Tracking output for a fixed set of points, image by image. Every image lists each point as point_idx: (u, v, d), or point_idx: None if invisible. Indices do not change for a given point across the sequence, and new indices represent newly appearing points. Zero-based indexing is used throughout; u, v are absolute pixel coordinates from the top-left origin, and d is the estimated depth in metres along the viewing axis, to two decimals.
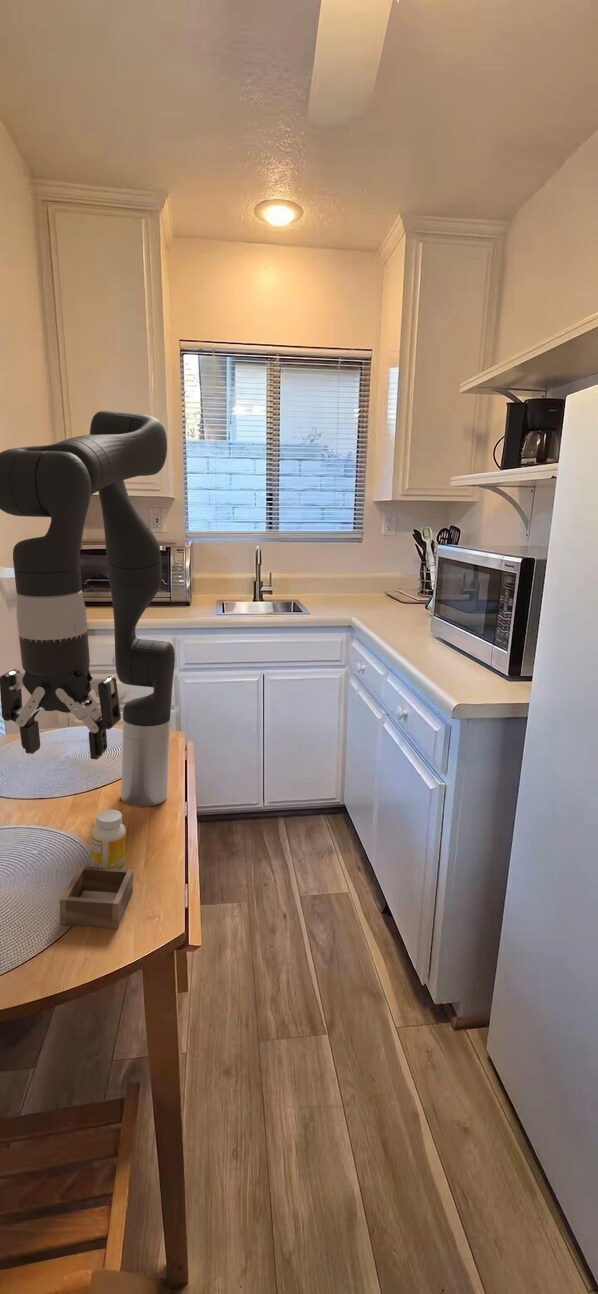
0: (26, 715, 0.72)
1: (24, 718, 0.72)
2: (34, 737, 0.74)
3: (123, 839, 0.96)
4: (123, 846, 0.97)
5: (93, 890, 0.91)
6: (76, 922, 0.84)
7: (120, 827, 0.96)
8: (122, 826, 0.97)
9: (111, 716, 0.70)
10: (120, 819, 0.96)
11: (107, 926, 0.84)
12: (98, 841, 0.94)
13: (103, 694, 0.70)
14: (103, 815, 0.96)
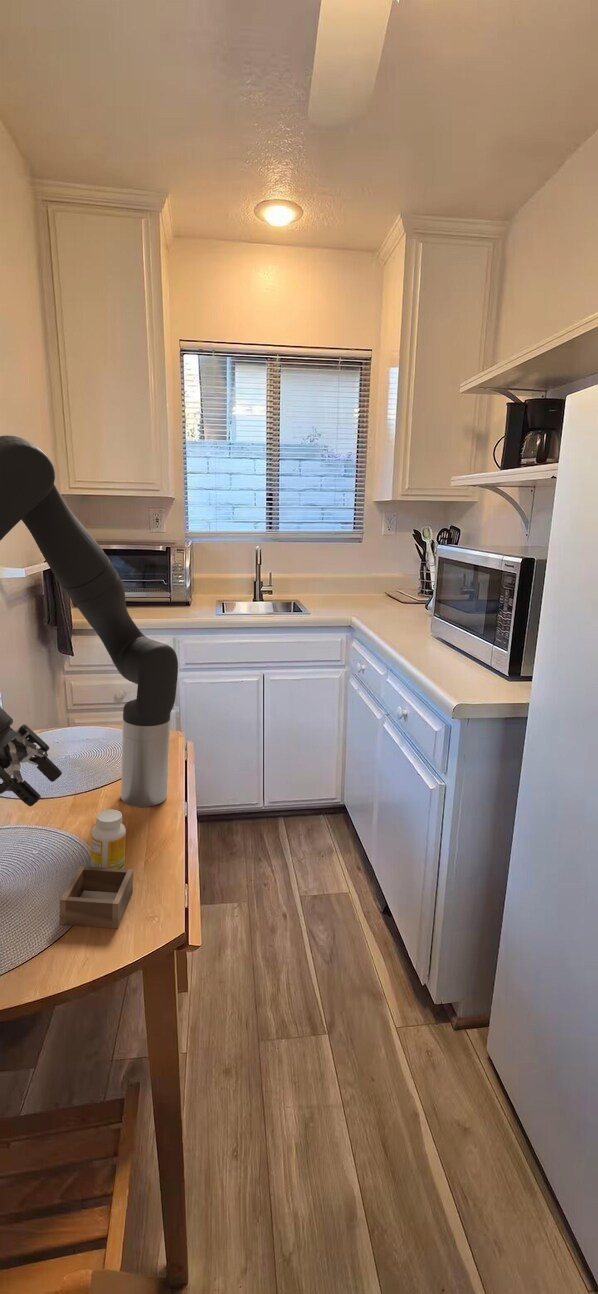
0: None
1: None
2: (48, 770, 0.98)
3: (123, 839, 0.96)
4: (123, 846, 0.97)
5: (93, 890, 0.91)
6: (76, 922, 0.84)
7: (120, 827, 0.96)
8: (122, 826, 0.97)
9: None
10: (120, 819, 0.96)
11: (107, 926, 0.84)
12: (98, 841, 0.94)
13: None
14: (103, 815, 0.96)
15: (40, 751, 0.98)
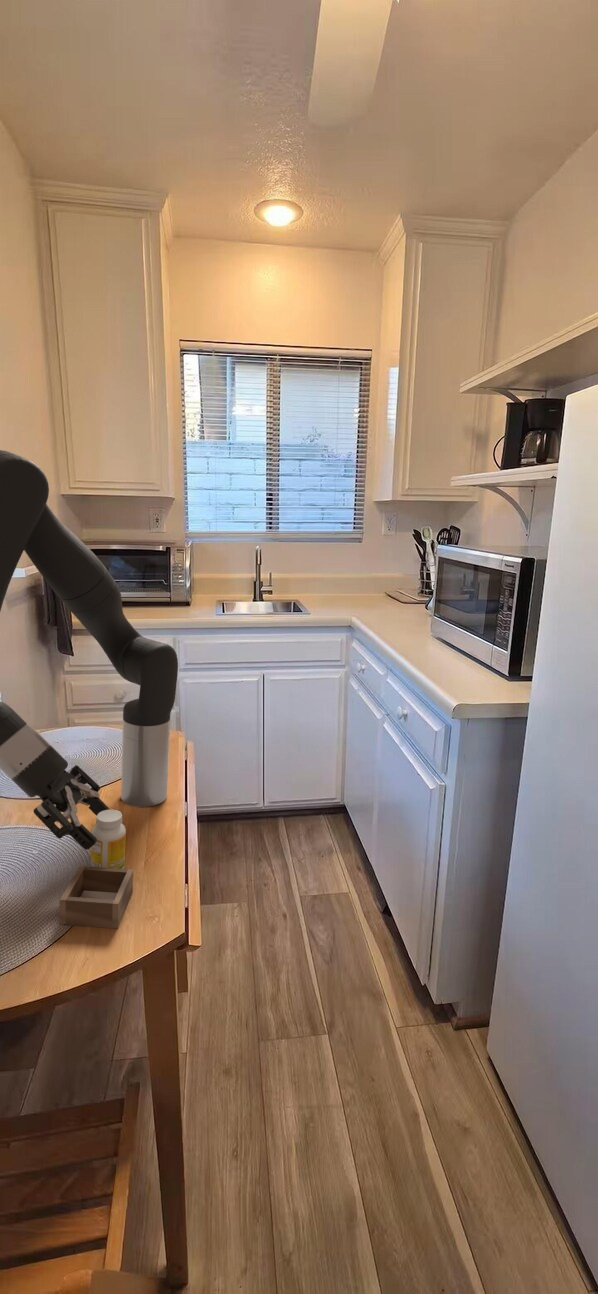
0: None
1: None
2: (100, 811, 1.00)
3: (123, 839, 0.96)
4: (123, 846, 0.97)
5: (93, 890, 0.91)
6: (76, 922, 0.84)
7: (120, 827, 0.96)
8: (122, 826, 0.97)
9: (51, 831, 0.89)
10: (120, 819, 0.96)
11: (107, 926, 0.84)
12: (98, 841, 0.94)
13: None
14: (103, 815, 0.96)
15: (92, 792, 0.99)
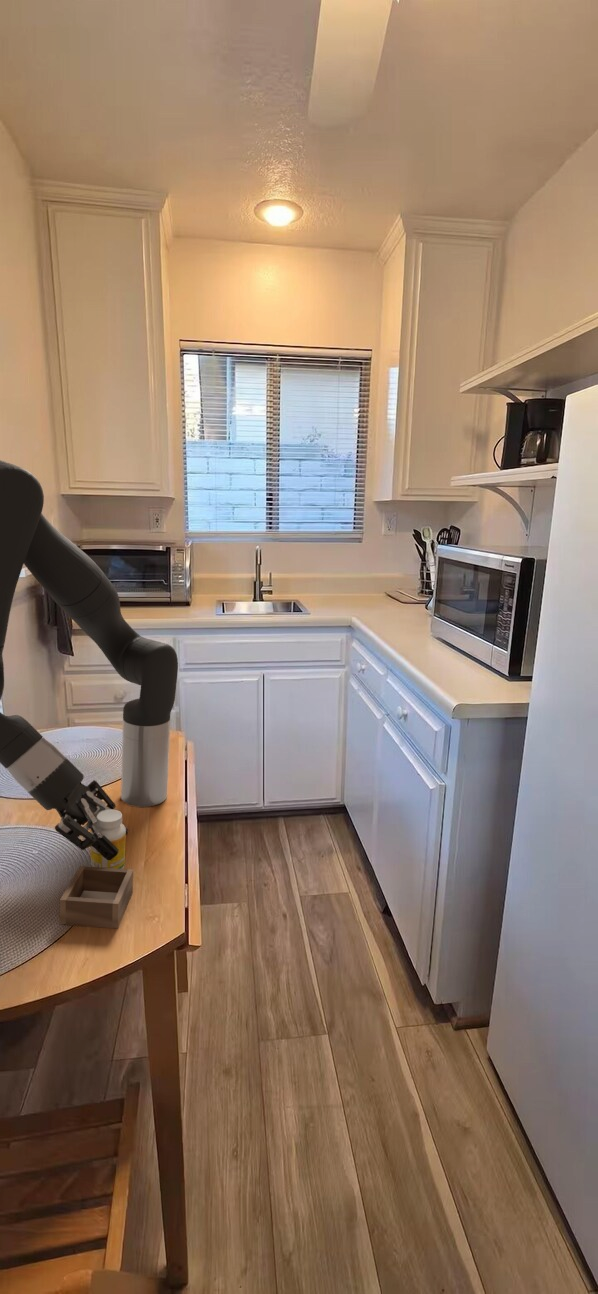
0: None
1: None
2: None
3: (123, 839, 0.96)
4: (123, 846, 0.97)
5: (93, 890, 0.91)
6: (76, 922, 0.84)
7: (120, 827, 0.96)
8: (122, 826, 0.97)
9: None
10: (120, 819, 0.96)
11: (107, 926, 0.84)
12: None
13: None
14: (103, 815, 0.96)
15: None
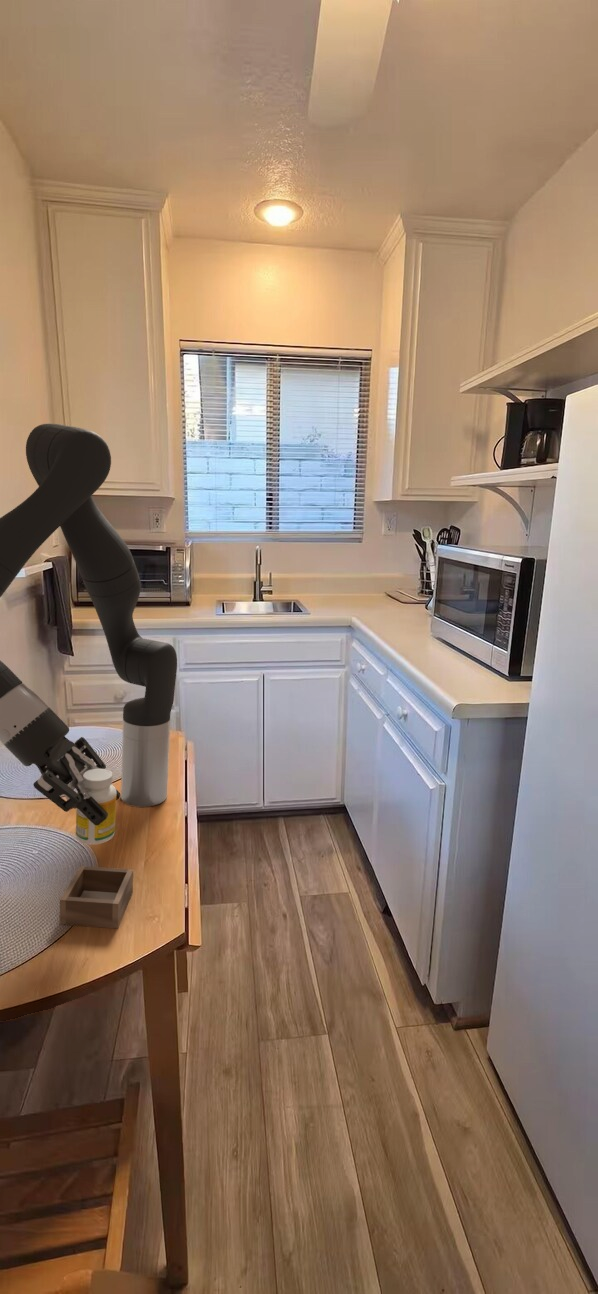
0: None
1: None
2: None
3: (113, 802, 0.84)
4: (113, 810, 0.84)
5: (93, 890, 0.91)
6: (76, 922, 0.84)
7: (110, 788, 0.84)
8: (112, 787, 0.84)
9: (57, 805, 0.78)
10: (110, 779, 0.83)
11: (107, 926, 0.84)
12: None
13: None
14: (91, 774, 0.83)
15: None
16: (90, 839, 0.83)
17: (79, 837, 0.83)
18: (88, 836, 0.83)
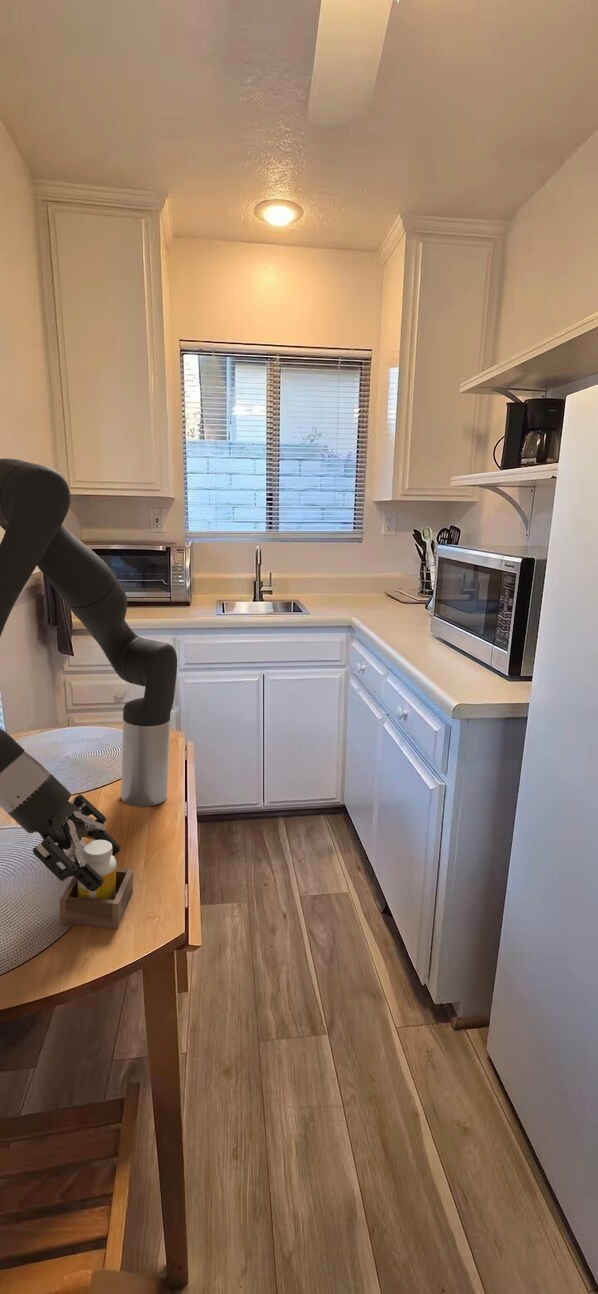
0: None
1: None
2: None
3: (113, 873, 0.87)
4: (113, 881, 0.87)
5: None
6: (76, 922, 0.84)
7: (110, 860, 0.87)
8: (112, 859, 0.87)
9: (53, 873, 0.79)
10: (110, 851, 0.86)
11: (107, 926, 0.84)
12: None
13: None
14: (91, 847, 0.86)
15: (98, 825, 0.90)
16: None
17: None
18: None
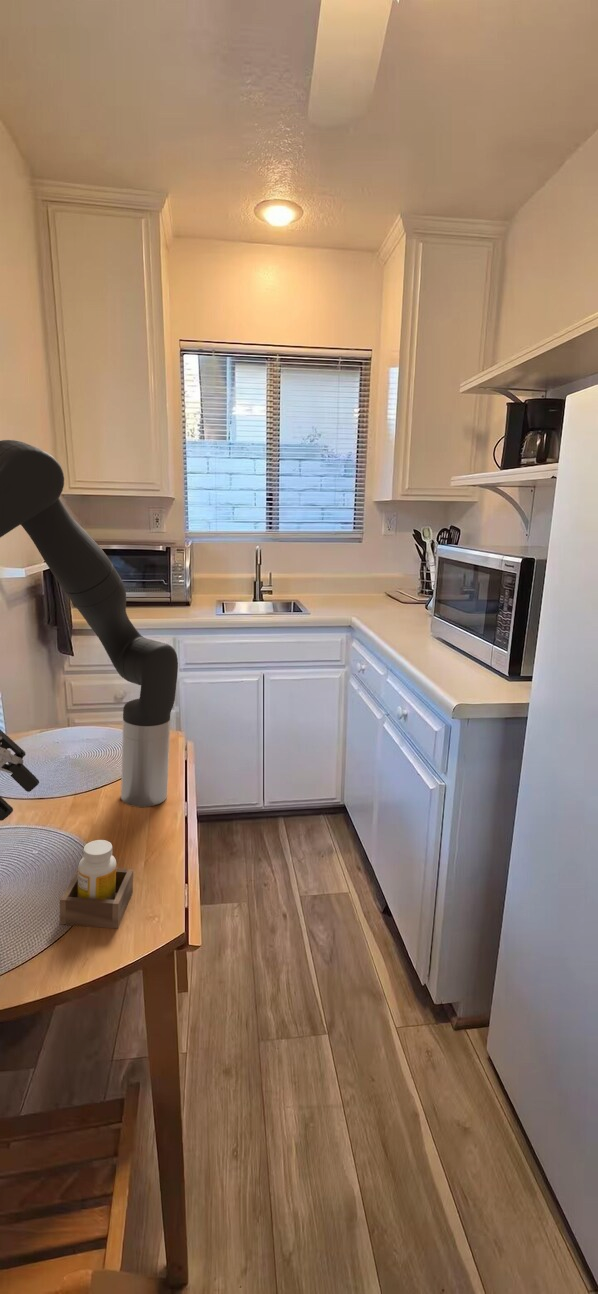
0: None
1: None
2: (24, 779, 0.88)
3: (113, 874, 0.86)
4: (113, 881, 0.87)
5: None
6: (76, 922, 0.84)
7: (110, 860, 0.87)
8: (112, 859, 0.87)
9: None
10: (110, 851, 0.86)
11: (107, 926, 0.84)
12: (85, 876, 0.84)
13: None
14: (91, 847, 0.86)
15: (14, 758, 0.87)
16: None
17: None
18: None
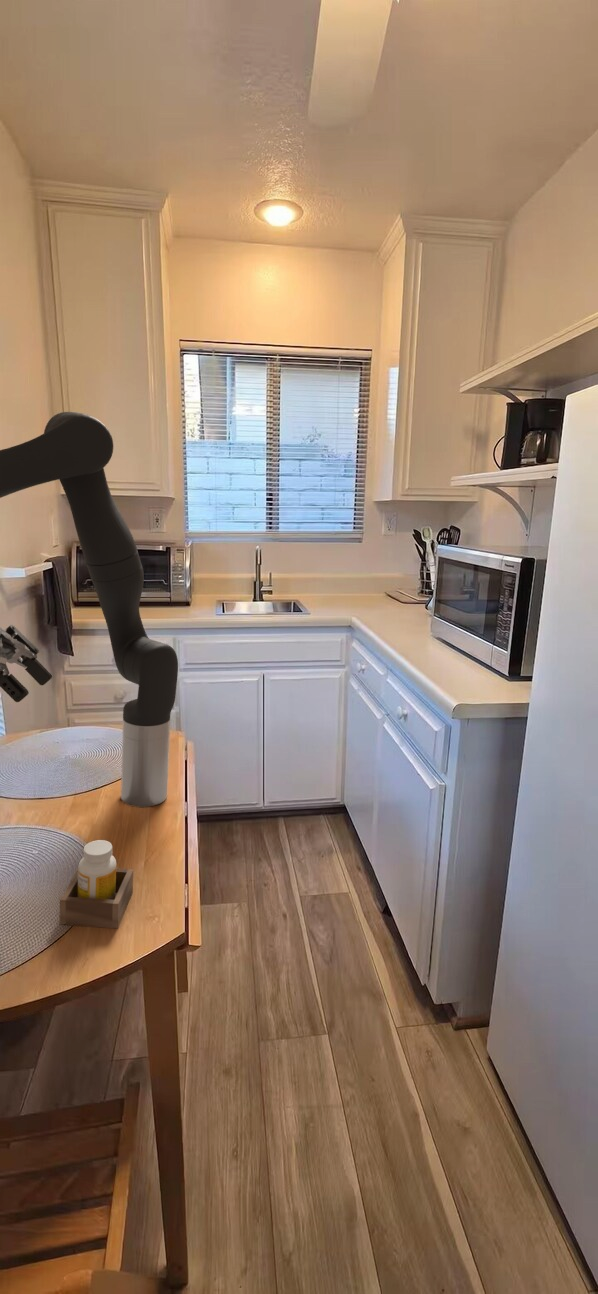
0: None
1: None
2: (38, 673, 0.92)
3: (113, 874, 0.86)
4: (113, 881, 0.87)
5: None
6: (76, 922, 0.84)
7: (110, 860, 0.87)
8: (112, 859, 0.87)
9: None
10: (110, 852, 0.86)
11: (107, 926, 0.84)
12: (85, 876, 0.84)
13: None
14: (91, 847, 0.86)
15: (29, 652, 0.92)
16: None
17: None
18: None
